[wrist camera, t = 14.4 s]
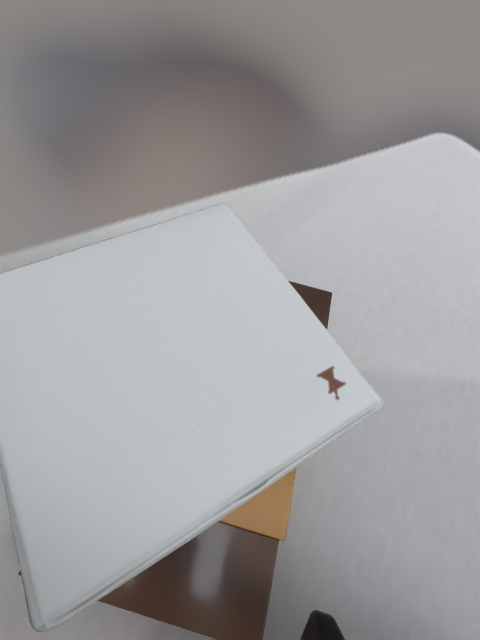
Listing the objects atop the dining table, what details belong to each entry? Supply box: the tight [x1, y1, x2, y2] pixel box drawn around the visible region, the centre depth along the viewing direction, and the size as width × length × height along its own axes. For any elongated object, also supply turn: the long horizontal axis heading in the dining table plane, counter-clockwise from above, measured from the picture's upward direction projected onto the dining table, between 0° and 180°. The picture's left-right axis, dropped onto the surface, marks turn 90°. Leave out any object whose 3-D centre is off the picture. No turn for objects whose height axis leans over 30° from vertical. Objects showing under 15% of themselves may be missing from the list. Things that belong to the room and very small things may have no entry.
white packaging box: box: [0, 203, 383, 632], centre depth 13 cm, size 7×7×13 cm
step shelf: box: [19, 281, 332, 640], centre depth 19 cm, size 18×12×6 cm, turn 165°
